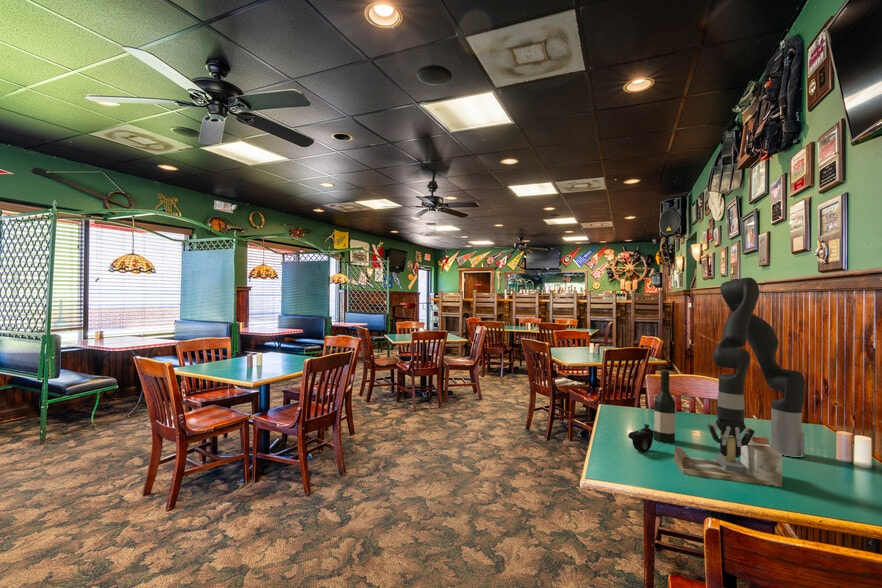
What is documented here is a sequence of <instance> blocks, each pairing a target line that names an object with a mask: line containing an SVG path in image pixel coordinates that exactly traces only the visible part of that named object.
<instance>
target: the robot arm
mask: <svg viewBox="0 0 882 588" xmlns="http://www.w3.org/2000/svg"><path fill="white" fill-rule="evenodd" d="M719 290H720V294H721V298H723V300H724V303H725V304H726V305H727V306H728V308H729V310H730V311H731V312H732V313H731V314H730V315H729V317H728V318H727V319H726V321H725V323H724V326H723V330H722V331H723V332H722V336H721V339H720V341H719V343H718V344H717V346H716V347H715V349H714V351H713V352H712V362H713V364H714V365H715V366H716V367H719V368H725V369H732V370H733V369H734V370H736V372H735V373H729V374H728V373H727V374H721V375H720V376H718V393H717V412H716V413H717V417H716V419H717V420H716V421H715V423H712V424H711V423H708V424H707V425H706V427H707V428H708V430H709V433H710V435H711V437H712V439H713V441H715V442H716V443H717V444H719V453H720V455H723V456H726V455H727V446H726V441H727V439H728V436H732V437H734V438H736V458H737V459H738V458H739V457H741V447H742V446H747V445H748V443H749V442H750V440H752V436H754V434H755V430H754V429H752V428H751V427H747V426H746V425H745V407H746V404H745V397H744V396H745V395H744V390H745V389H744V386H745V377H746V375H747V374H746V373H747V371H748V368H749V366H750V364H751V358H752V357H751V354H750V353H749V351H748V350H746V349H745V348H743V347H744V346H745V345H746V344H747V342H748V345H749V346H750V348H751V350H752V352H753V354H754V356H755V358H756V360H757V362H758V364H759V367H760V370H761V372H762V373H761V374H762V375H763V378H764V381H765V383H766V385H767V386H768V387H769V389H771V390H773V391H776V392H781V393H784V396H783V398H781V399H774V400H772V401H771V403H770V404H771V405H770V409H771V410H770V446H771V447H773V448H774V449H775V450H777V451H778V452H780V453H781V454H782V455H789V456H801V455H803V456H804V457H805V432H804V431H802V430H803V426H802V424H803V422H802V421H803V419H802V418H803V416H802V415H803V414H802V413H803V407H804V404H805V393H806V378H805V376H804V374H803V373H802V372H800V371H798V370H793V369H787V368H782V367H780V366H779V364H778V362H777V360H776V354H777V351H778V349H779V339H778V338H779V337H778V336H777V334H776V332H775V330H774V328H773V326H772V325H771V324H770V323H769V322H767V320H764V319H763V318H761V317H760V316H758V315H756V314H754V310H755V308H756V306H757V303H758V301H759V295H760V287H759V284H758V282H757V280H755V279H754V278H753V277H742V278H738V279H737V278H736V279H732V280H728V281H725V282H722V283H721V284H720V289H719ZM717 428H718V430H719V431H720V433H719V436H718V433H717V432H716V431H717ZM743 432H744V434H743V436H741V434H742V433H743ZM741 439H742V440H741Z"/></svg>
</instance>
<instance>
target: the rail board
mask: <svg viewBox="0 0 882 588" xmlns="http://www.w3.org/2000/svg"><path fill="white" fill-rule="evenodd" d="M741 440H742V438H741ZM673 462H674V463H675V464H676V466H677V467H678V469H679V470H680V472H681V473H682V474H683V475H685V476H686V475H688V476H695V477H703V478H711V479H717V480H724V481H725V480H727V481H731V482H740V483H750V484H755V483H756V484H758V485H763V484H765V485H764V486H770V485H775V486H774V487H778V486H782V487H783V456H782V454H781V453H780V452H778V451H777V450H775V449H774V448H773V447H771V444H770V445H769V444H768V445H765V444H758V443H755V442H753V441H752V439H751V440H750V442H749V443H748V445H747V446H742V447H741V456H740V462H741V463H742V464H743V465H744V466H746V467H747V472H739V471H731V470H725V469H724V468H723V467H722V466H721V465H720V464H719V463H718V462H717V461H716V460H715V459H708V458H700V457H691V456H688V454H687V453H686V452H685V450H684V449H683V448H682V447H679V446H675V447H674V457H673Z"/></svg>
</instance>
